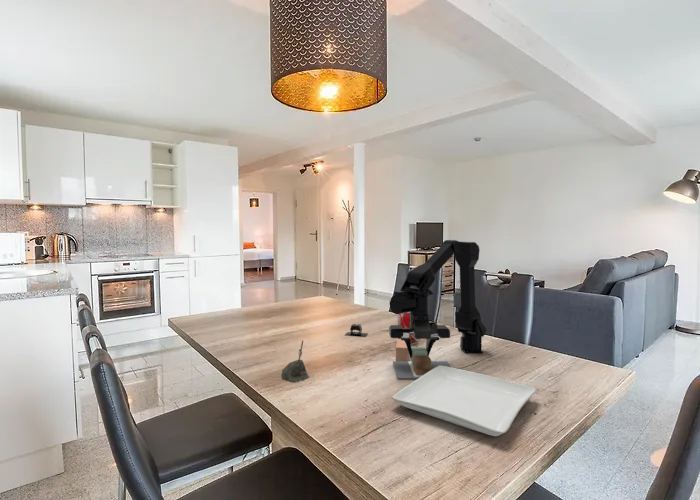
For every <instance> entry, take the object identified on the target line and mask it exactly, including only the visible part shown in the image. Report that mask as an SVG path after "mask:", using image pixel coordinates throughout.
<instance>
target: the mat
mask: <svg viewBox="0 0 700 500" xmlns="http://www.w3.org/2000/svg"><path fill="white" fill-rule="evenodd" d="M392 365H393V368H394V372H395V375H396V379H397V381H399V380H400V381H405V380H406V381H407V380H408V381H409V380H410V381H411V380H413V381H415V380H417V379H418V378H420V377H421V376H423V375H416V374H415V371H414V365H413V364H412V362H411V360H408V361H396V360H392ZM439 365H442V366H447V367H451V368H453V366H451V364H450V363H449V362H448V360H434V361H433V360H431V370H432V369H434V368H435V367H437V366H439Z"/></svg>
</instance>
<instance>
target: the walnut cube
mask: <svg viewBox="0 0 700 500" xmlns="http://www.w3.org/2000/svg"><path fill="white" fill-rule="evenodd" d="M431 361H432V359H431V357H430V355H429V356H414V371H415V374H416V375H424V374H426V373H427V372H429V371H430V370H431Z"/></svg>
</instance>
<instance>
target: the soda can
mask: <svg viewBox="0 0 700 500" xmlns="http://www.w3.org/2000/svg"><path fill="white" fill-rule="evenodd" d="M397 325H401V326H402V328H410V312H407V313H401V314H397ZM413 332H414V331H413ZM409 337H410V339H411V343H413V342H414V341H415V340H416V338H415V335H414V334H409ZM398 339H401V338H397V340H398Z"/></svg>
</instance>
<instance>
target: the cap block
mask: <svg viewBox="0 0 700 500" xmlns="http://www.w3.org/2000/svg"><path fill="white" fill-rule="evenodd" d="M395 345H396V346H395V361H409V357H410V355H409V352H408V349H407V346H406V343H405V341H404V340H401V339H398V338H397V341H396V344H395Z"/></svg>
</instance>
